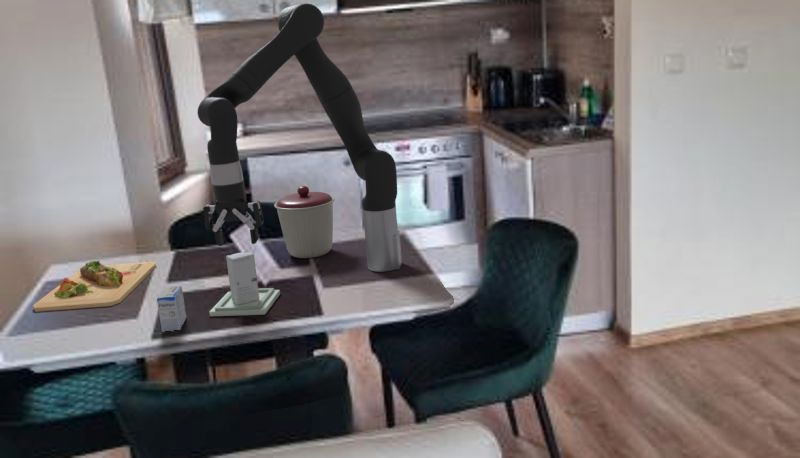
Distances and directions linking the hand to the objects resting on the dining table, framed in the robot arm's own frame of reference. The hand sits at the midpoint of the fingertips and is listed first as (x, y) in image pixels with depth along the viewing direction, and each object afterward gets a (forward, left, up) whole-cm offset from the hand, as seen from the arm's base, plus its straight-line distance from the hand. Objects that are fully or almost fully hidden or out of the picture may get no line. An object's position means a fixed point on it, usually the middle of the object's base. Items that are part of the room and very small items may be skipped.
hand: (237, 244), depth 188 cm
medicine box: (+14, +12, -16) cm, 25 cm away
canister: (-7, -42, -16) cm, 46 cm away
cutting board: (+50, -19, -17) cm, 56 cm away
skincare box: (0, 0, -15) cm, 15 cm away
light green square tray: (0, 0, -16) cm, 16 cm away
